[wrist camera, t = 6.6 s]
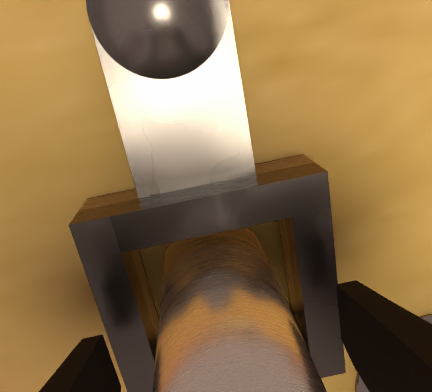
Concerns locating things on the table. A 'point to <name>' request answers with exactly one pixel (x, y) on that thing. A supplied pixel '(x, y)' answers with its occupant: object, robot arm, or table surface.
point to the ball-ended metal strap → (194, 177)
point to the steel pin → (227, 321)
